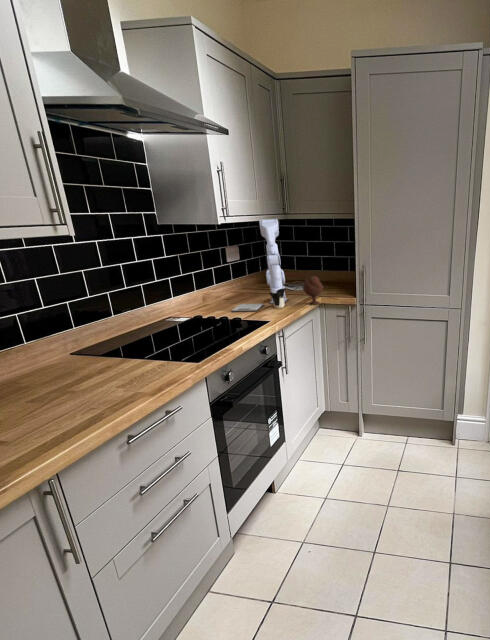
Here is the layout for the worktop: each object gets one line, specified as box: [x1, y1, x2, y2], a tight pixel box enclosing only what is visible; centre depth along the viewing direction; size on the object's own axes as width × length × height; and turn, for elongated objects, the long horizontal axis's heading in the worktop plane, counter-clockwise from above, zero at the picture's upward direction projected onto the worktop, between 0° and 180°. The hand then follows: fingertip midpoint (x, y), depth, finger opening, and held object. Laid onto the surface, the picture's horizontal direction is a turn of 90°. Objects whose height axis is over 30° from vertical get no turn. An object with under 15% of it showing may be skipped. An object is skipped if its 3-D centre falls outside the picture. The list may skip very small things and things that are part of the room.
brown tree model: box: [302, 275, 324, 306], centre depth 236 cm, size 11×11×15 cm
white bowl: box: [272, 297, 286, 309], centre depth 233 cm, size 6×6×5 cm
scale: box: [231, 303, 265, 313], centre depth 231 cm, size 14×13×1 cm
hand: (279, 304), depth 233 cm, fingers open, 7 cm apart
